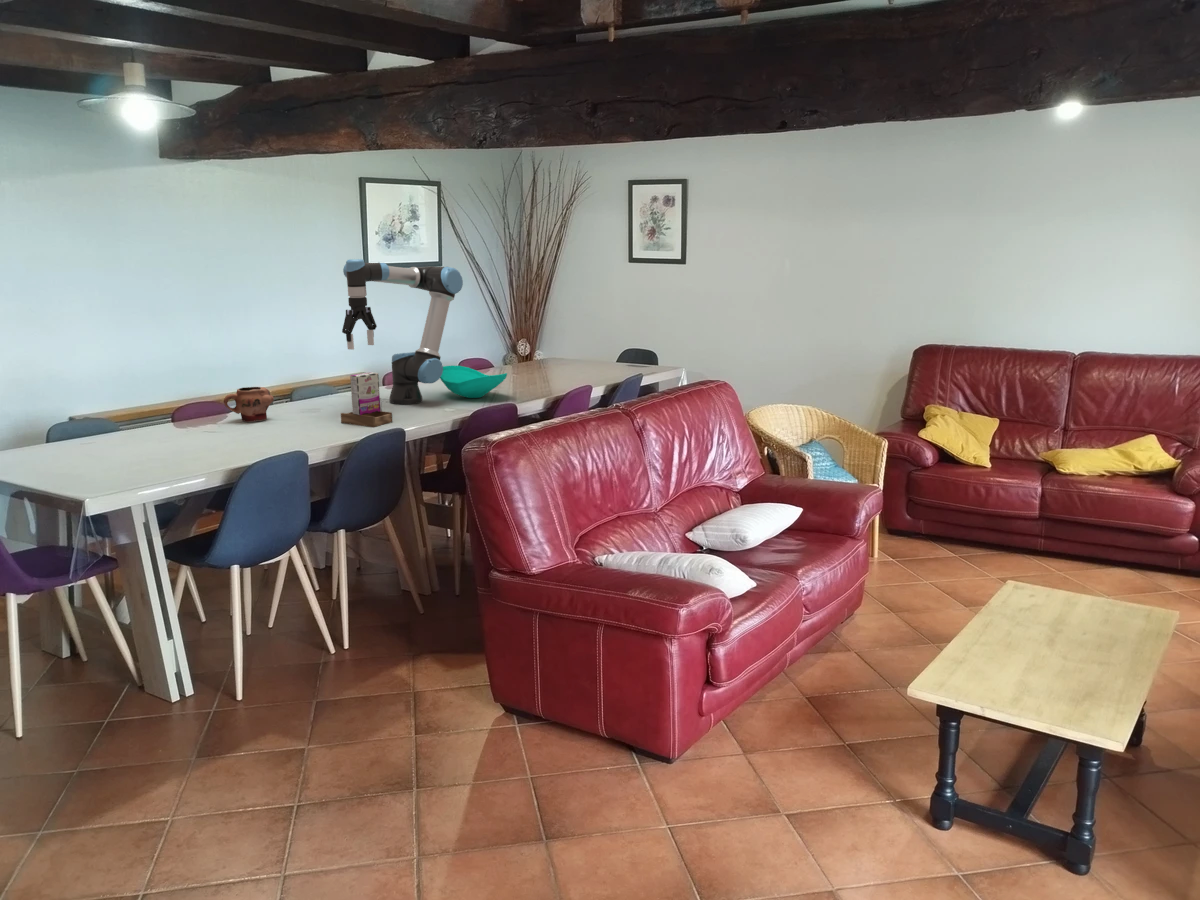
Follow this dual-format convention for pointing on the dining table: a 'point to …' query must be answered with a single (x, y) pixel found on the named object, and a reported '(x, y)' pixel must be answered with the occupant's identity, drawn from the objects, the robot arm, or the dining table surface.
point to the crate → (367, 418)
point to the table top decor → (469, 381)
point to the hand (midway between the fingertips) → (361, 347)
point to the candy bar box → (365, 393)
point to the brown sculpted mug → (251, 403)
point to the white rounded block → (380, 404)
